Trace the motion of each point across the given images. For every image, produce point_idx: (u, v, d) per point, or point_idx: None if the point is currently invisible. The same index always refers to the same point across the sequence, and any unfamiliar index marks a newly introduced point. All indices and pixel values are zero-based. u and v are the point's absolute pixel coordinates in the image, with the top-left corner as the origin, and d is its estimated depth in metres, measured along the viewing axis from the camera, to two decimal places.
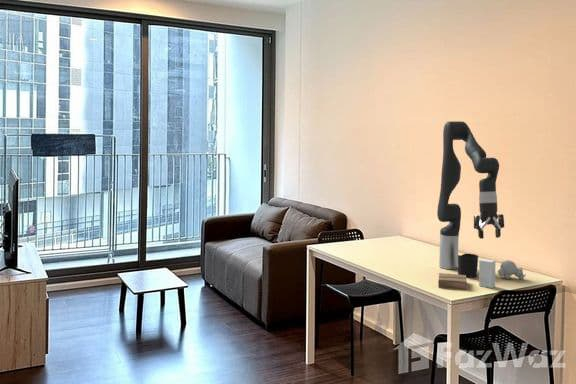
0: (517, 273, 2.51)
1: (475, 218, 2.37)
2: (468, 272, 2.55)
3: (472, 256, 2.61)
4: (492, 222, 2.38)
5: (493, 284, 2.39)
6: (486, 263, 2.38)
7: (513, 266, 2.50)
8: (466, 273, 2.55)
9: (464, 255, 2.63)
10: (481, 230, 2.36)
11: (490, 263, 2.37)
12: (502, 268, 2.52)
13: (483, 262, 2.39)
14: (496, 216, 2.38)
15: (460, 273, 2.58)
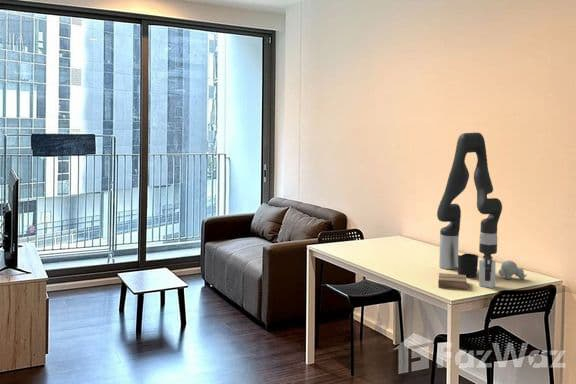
0: (518, 274, 2.51)
1: (488, 263, 2.33)
2: (468, 272, 2.55)
3: (472, 256, 2.61)
4: None
5: (493, 284, 2.39)
6: None
7: (514, 266, 2.50)
8: (466, 273, 2.55)
9: (464, 255, 2.63)
10: (489, 272, 2.37)
11: None
12: (503, 268, 2.52)
13: (483, 262, 2.39)
14: None
15: (460, 273, 2.58)
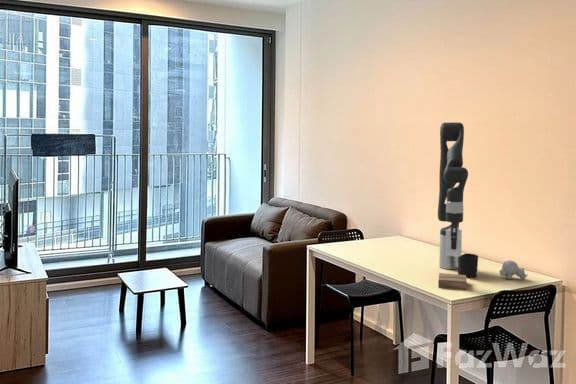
0: (519, 274, 2.50)
1: (454, 231, 2.35)
2: (468, 272, 2.55)
3: (472, 256, 2.61)
4: None
5: (459, 253, 2.40)
6: None
7: (515, 266, 2.50)
8: (466, 273, 2.55)
9: (464, 255, 2.63)
10: (455, 241, 2.38)
11: None
12: (504, 268, 2.52)
13: (449, 231, 2.40)
14: None
15: (460, 273, 2.58)
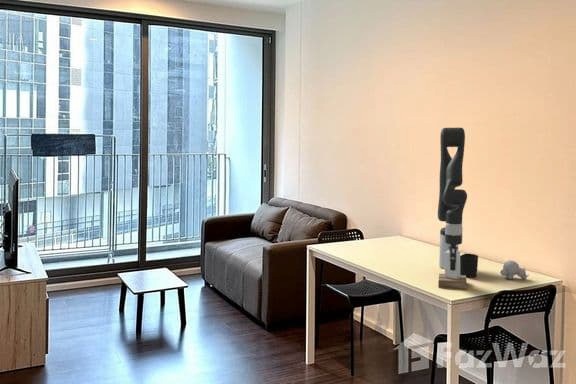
0: (520, 274, 2.50)
1: (453, 251, 2.35)
2: (468, 272, 2.55)
3: (472, 256, 2.61)
4: None
5: (458, 275, 2.41)
6: None
7: (516, 266, 2.50)
8: (466, 273, 2.55)
9: (464, 255, 2.63)
10: (454, 262, 2.38)
11: None
12: (505, 268, 2.52)
13: (448, 254, 2.41)
14: None
15: (460, 273, 2.58)
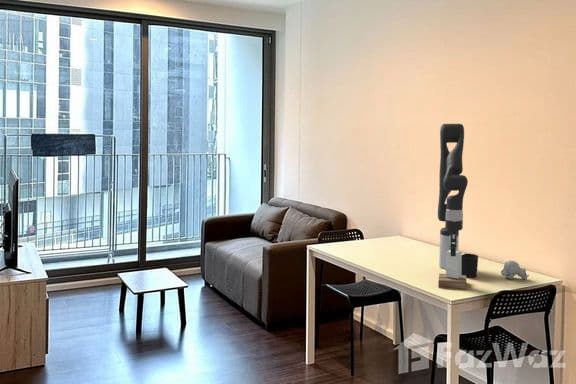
0: (521, 274, 2.50)
1: (453, 237, 2.35)
2: (468, 272, 2.55)
3: (472, 256, 2.61)
4: None
5: (459, 275, 2.41)
6: None
7: (516, 266, 2.50)
8: (466, 273, 2.55)
9: (464, 255, 2.63)
10: (455, 248, 2.37)
11: (456, 253, 2.39)
12: (505, 268, 2.52)
13: (450, 253, 2.42)
14: None
15: None
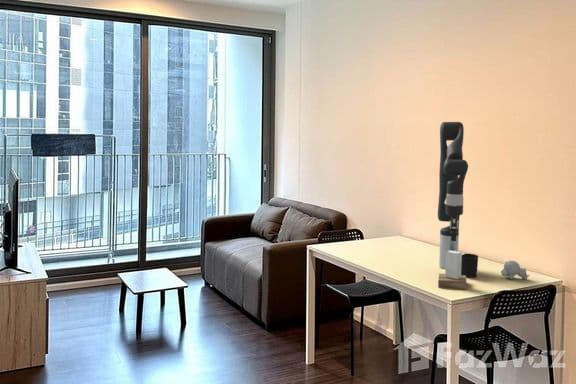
0: (521, 274, 2.50)
1: (454, 221, 2.34)
2: (468, 272, 2.55)
3: (472, 256, 2.61)
4: None
5: (459, 275, 2.41)
6: (452, 254, 2.40)
7: (517, 266, 2.50)
8: (466, 273, 2.55)
9: (464, 255, 2.63)
10: (455, 233, 2.36)
11: (456, 254, 2.39)
12: (505, 268, 2.52)
13: (450, 253, 2.41)
14: None
15: None
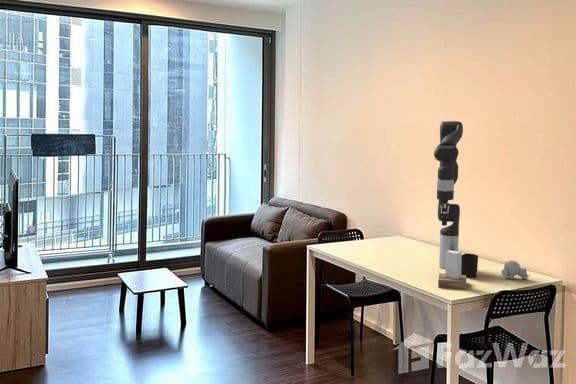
0: (521, 274, 2.50)
1: (444, 206, 2.39)
2: (468, 272, 2.55)
3: (472, 256, 2.61)
4: None
5: (459, 275, 2.41)
6: (452, 254, 2.40)
7: (517, 266, 2.50)
8: (466, 273, 2.55)
9: (464, 255, 2.63)
10: (446, 217, 2.42)
11: (456, 254, 2.39)
12: (506, 268, 2.52)
13: (449, 253, 2.41)
14: None
15: None
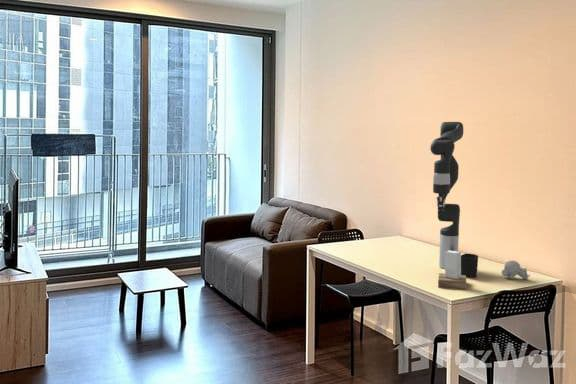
0: (521, 274, 2.50)
1: (440, 199, 2.41)
2: (468, 272, 2.55)
3: (472, 256, 2.61)
4: None
5: (458, 275, 2.41)
6: (451, 254, 2.40)
7: (517, 266, 2.50)
8: (466, 273, 2.55)
9: (464, 255, 2.63)
10: (442, 211, 2.44)
11: (455, 254, 2.39)
12: (506, 268, 2.52)
13: (448, 253, 2.41)
14: None
15: None
